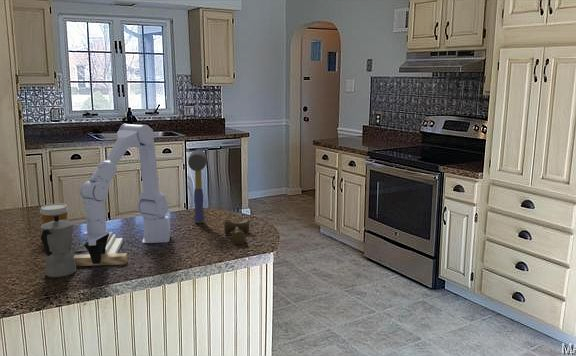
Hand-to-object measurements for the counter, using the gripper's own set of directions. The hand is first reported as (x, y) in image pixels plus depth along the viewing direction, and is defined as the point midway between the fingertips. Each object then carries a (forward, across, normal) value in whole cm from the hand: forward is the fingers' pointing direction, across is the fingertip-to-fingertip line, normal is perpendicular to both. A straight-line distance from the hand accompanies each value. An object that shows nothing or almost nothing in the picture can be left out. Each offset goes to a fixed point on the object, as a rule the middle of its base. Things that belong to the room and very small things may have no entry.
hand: (98, 259), depth 155 cm
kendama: (+2, -23, +46) cm, 51 cm away
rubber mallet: (+2, -42, +31) cm, 52 cm away
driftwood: (+2, -22, -8) cm, 23 cm away
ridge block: (+1, -13, 0) cm, 13 cm away
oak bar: (+2, 0, 0) cm, 2 cm away
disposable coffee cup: (+2, -29, -21) cm, 36 cm away
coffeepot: (+2, +6, -10) cm, 12 cm away
